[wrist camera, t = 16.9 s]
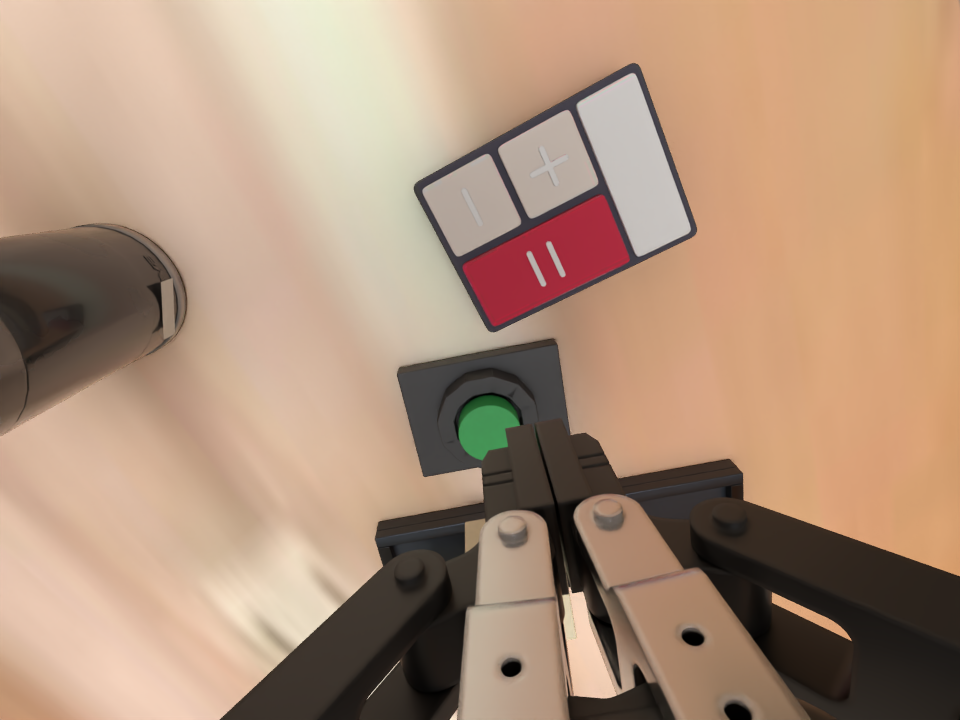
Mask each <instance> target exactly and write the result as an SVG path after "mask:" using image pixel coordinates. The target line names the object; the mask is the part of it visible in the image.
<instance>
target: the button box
mask: <svg viewBox="0 0 960 720" xmlns="http://www.w3.org/2000/svg"><path fill="white" fill-rule="evenodd" d="M397 377H398V381H399V384H400V388H401V392H402V396H403V400H404V404H405V407H406V411H407V415H408V419H409V423H410V426H411V430H412V434H413V438H414V442H415V446H416V449H417V453H418V457H419V461H420V465H421V468H422V472H423V476H424V477H427V476H433V475H438V474H444V473H449V472H455V471H460V470H466V469H471V468H477V467H479V468H482V465H481V462H482V461H483V460H479V459H476V458H474V457H472V456H471V455H469V454H468V453H467V452H466V451H465V450H464V449H463V447H462V445H461V443H460V440H459V416H460V413H461V411H462V409H463V408H464V407H465V405H466V404H467V403H468V402H470V401H471V400H473V399H475V398H477V397H480V396H484V395H494V396H499V397H501V398H504V399H506V400H507V401H508V402H510V403H511V404H512V405H513V407H514V408H515V410H516V412H517V415H518V419H519V423H520V426H521V425H527V424H532V426H533V429H534V433H535V428H534V423H537V422H542V421H548V420H553V419H559V418H561V419H562V421H563V423H564V426H565V428H566V431H567V433H568V435H569V436H570V429H569V422H568V415H567V408H566V401H565V394H564V387H563V380H562V373H561V366H560V359H559V352H558V345H557V343H556V341H555V340H554V339H550V340H545V341H539V342H534V343H529V344H523V345H518V346H513V347H507V348H502V349H497V350H492V351H486V352H481V353H476V354H470V355H465V356H460V357H454V358H449V359H444V360H438V361H433V362H428V363H423V364H417V365H412V366H407V367H401V368H399V370H398V373H397ZM535 436H536V435H535Z"/></svg>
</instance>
